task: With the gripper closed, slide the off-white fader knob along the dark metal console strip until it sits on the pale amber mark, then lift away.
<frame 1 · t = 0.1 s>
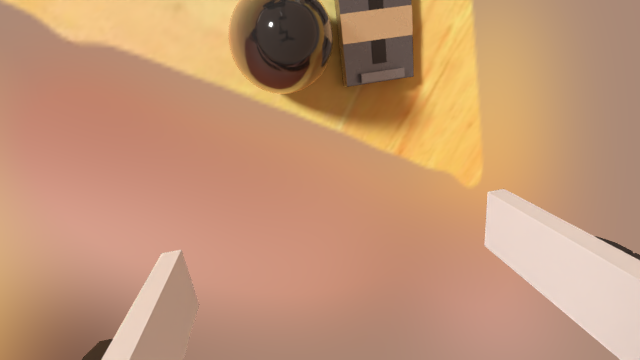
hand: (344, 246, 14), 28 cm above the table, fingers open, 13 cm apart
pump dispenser: (279, 43, 36), on the table
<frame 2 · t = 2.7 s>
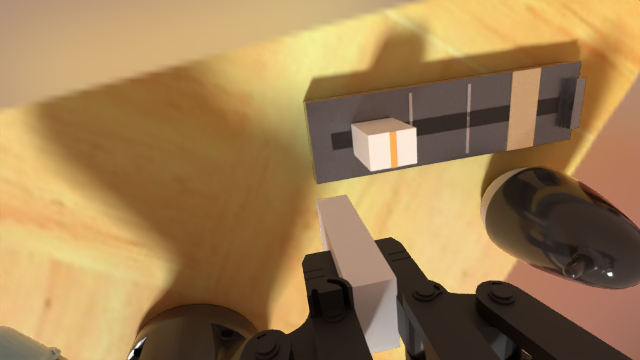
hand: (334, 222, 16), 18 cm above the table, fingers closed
fader knob: (382, 142, 29), point 5 cm above the table, slide at 0.0 cm
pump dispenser: (503, 197, 39), on the table
console: (439, 119, 34), on the table
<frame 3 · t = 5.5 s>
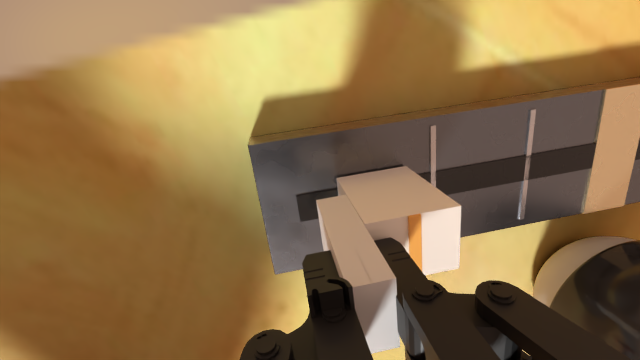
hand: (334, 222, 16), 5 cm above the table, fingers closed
fader knob: (391, 218, 16), point 5 cm above the table, slide at 0.3 cm, touching gripper
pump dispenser: (564, 272, 26), on the table
console: (475, 163, 21), on the table
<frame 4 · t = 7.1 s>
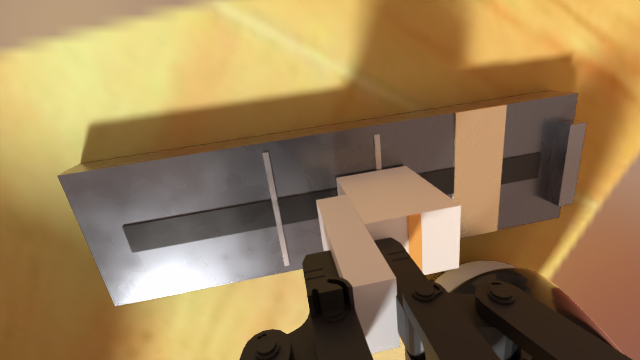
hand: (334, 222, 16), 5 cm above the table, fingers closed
fader knob: (390, 218, 16), point 5 cm above the table, slide at 9.5 cm, touching gripper
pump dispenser: (457, 295, 25), on the table
console: (339, 187, 20), on the table
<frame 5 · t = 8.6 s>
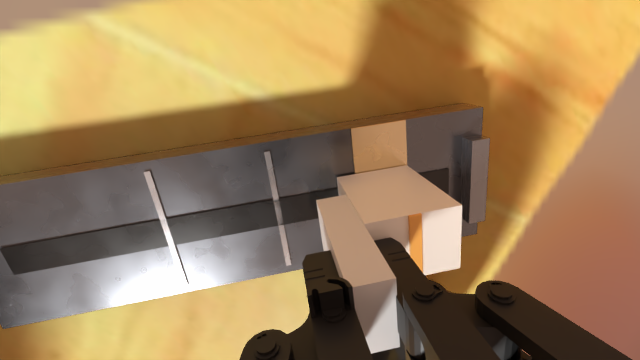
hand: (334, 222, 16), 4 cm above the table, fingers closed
fader knob: (391, 217, 16), point 5 cm above the table, slide at 15.4 cm, touching gripper
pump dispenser: (385, 311, 24), on the table
console: (244, 203, 20), on the table
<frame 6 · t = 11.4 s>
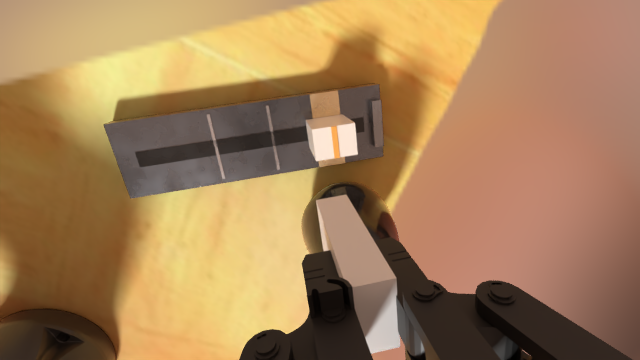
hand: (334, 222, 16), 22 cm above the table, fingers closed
fader knob: (330, 136, 32), point 5 cm above the table, slide at 15.7 cm
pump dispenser: (337, 209, 41), on the table
console: (255, 137, 36), on the table
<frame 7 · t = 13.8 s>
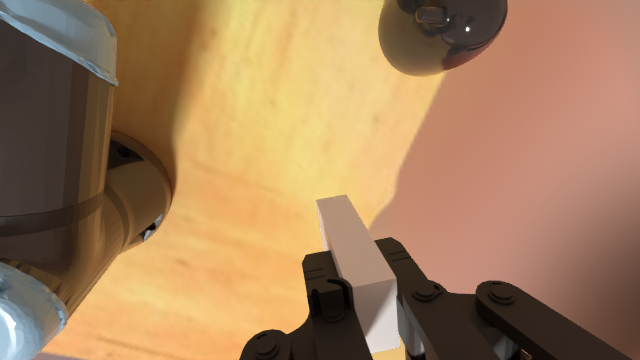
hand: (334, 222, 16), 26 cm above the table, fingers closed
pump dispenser: (407, 31, 39), on the table
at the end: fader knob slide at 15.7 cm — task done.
